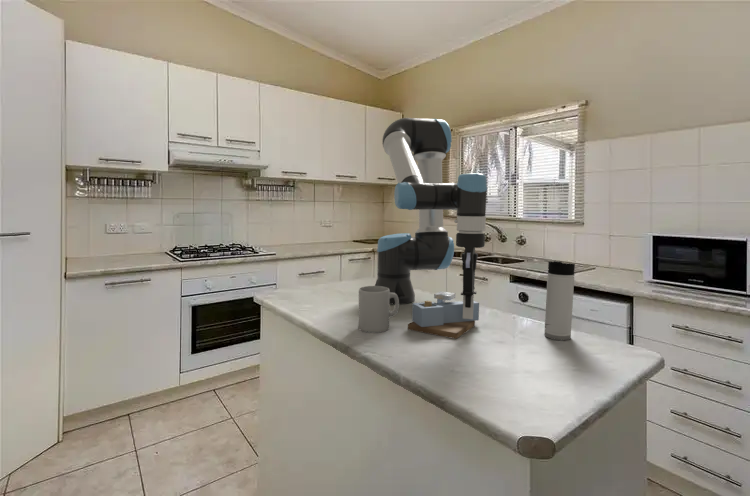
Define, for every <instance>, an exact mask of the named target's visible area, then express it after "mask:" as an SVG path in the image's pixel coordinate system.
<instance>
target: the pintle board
mask: <svg viewBox="0 0 750 496" xmlns="http://www.w3.org/2000/svg"><path fill="white" fill-rule="evenodd" d="M424 302H425V303H424V307H432V302H433V301H432V300H424ZM475 326H476V321H464V322H453V323H444V324H443V325H439V326H428V327H421V326H419V325H418V324H416V323H415V322H413V321H411V322H409V323H408V324H407V330H410V331H414V332H419V333H424V334H430V335H435V336H440V337H446V338H449V339H455V340H456V339H458V338H460V337H461V336H463V335H465V334H466V333H467V332H468V331H470V330H471V329H472V328H474V327H475Z"/></svg>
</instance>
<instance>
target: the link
mask: <svg viewBox="0 0 750 496" xmlns="http://www.w3.org/2000/svg"><path fill="white" fill-rule="evenodd" d="M424 303H425V301H423V302H412V306H411V307H412V308H411V309H412V313H411V317H412V318H411V319H412V320H411V322H415V323H416V324H418V325H419V326H421V327H428V326H439V325H443V324H444V323H453V322H464V321H475V322H476V321H479V320H480V319H479V318H480V317H479V316H480V302H478V301H475V300H474V307H473V319H464V318H463V300H461V301H459V300H458V301H445V302H443V303H437V302H435V301H432V307H424Z"/></svg>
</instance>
